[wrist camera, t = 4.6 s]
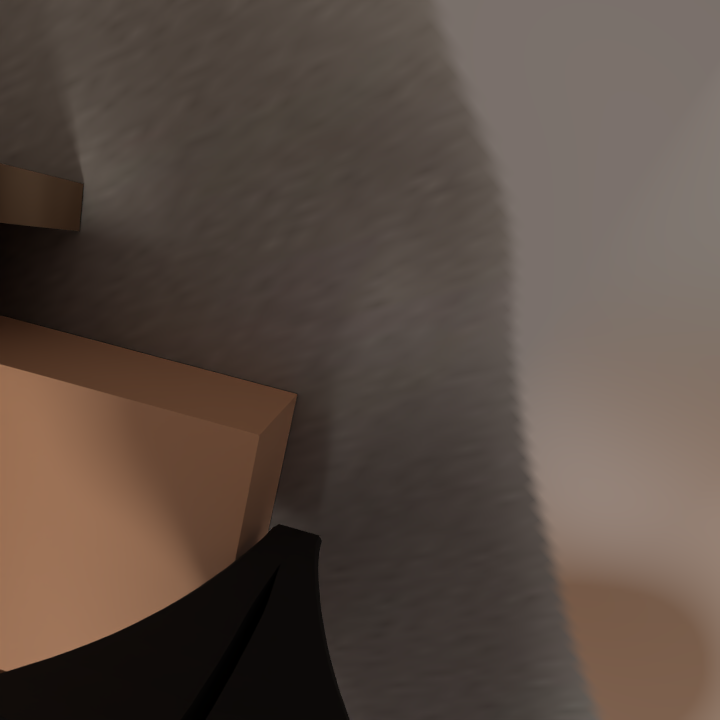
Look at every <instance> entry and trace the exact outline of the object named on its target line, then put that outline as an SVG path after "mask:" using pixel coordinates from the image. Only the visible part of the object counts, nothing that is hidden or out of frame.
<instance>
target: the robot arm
mask: <svg viewBox="0 0 720 720" xmlns="http://www.w3.org/2000/svg"><path fill="white" fill-rule="evenodd" d="M321 542H322V540H321V539H320V537H319V535H315V534H312V533H308V532H305V531H301V530H298V529H294V528H291V527H287V526H284V525H280V524H279V525H277V526H275V527H273V528H272V529H271V530H270V531H269V532H268V533H267V534H266V535H265V536H264V537H263V538H262V539H261V540H260V541H259V542H257V543H256V544H255V545H254V546H253V547H252V548H250V549H249V550H248V551H247V552H246V553H244V554H243V555H242V556H241V557H239V558H238V559H237V560H235V561H234V562H233V563H232V564H230V565H229V566H228V567H227V568H225V569H224V570H223V571H221V572H220V573H218V574H217V575H215V576H214V577H213V578H211V579H210V580H208V581H207V582H205V583H204V584H203V585H201V586H200V587H198V588H197V589H195V590H194V591H192V592H190V593H189V594H187V595H186V596H184V597H182V598H181V599H179V600H177V601H176V602H174V603H172V604H170V605H169V606H167V607H165V608H163V609H162V610H160V611H158V612H156V613H154V614H152V615H150V616H148V617H146V618H144V619H142V620H140V621H139V622H137V623H135V624H133V625H131V626H128V627H126V628H124V629H122V630H120V631H118V632H116V633H113V634H111V635H109V636H106V637H104V638H101V639H99V640H96V641H94V642H92V643H89V644H87V645H84V646H81V647H79V648H76V649H73V650H71V651H68V652H65V653H62V654H60V655H57V656H54V657H51V658H48V659H45V660H41V661H38V662H35V663H32V664H29V665H25V666H22V667H19V668H16V669H13V670H10V671H6V672H3V673H0V720H349V717H348V714H347V711H346V708H345V705H344V702H343V699H342V697H341V694H340V691H339V688H338V685H337V681H336V677H335V674H334V670H333V667H332V663H331V659H330V655H329V650H328V646H327V641H326V636H325V631H324V625H323V619H322V612H321V604H320V594H319V581H318V559H319V550H320V546H321Z"/></svg>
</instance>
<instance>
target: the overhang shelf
mask: <svg viewBox="0 0 720 720" xmlns="http://www.w3.org/2000/svg"><path fill="white" fill-rule="evenodd" d="M82 194H83V184H81V183H77V182H73V181H69V180H65V179H61V178H57V177H53V176H49V175H45V174H41V173H37V172H33V171H29V170H25V169H21V168H17V167H13V166H9V165H5V164H1V163H0V223H7V224H17V225H26V226H35V227H45V228H54V229H63V230H73V231H79V230H80V218H81V206H82ZM3 672H6V671H4V670H1V669H0V673H3Z"/></svg>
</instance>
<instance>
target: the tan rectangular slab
mask: <svg viewBox="0 0 720 720" xmlns="http://www.w3.org/2000/svg"><path fill="white" fill-rule="evenodd" d="M296 398H297V394H295V393H291V392H287V391H284V390H280V389H276V388H272V387H269V386H265V385H261V384H257V383H254V382H250V381H246V380H242V379H238V378H235V377H231V376H227V375H223V374H220V373H216V372H212V371H208V370H205V369H201V368H197V367H193V366H189V365H186V364H182V363H178V362H174V361H171V360H167V359H163V358H159V357H156V356H152V355H148V354H144V353H140V352H137V351H133V350H129V349H125V348H122V347H118V346H114V345H110V344H107V343H103V342H99V341H95V340H91V339H88V338H84V337H80V336H76V335H73V334H69V333H65V332H61V331H58V330H54V329H50V328H46V327H42V326H39V325H35V324H31V323H27V322H24V321H20V320H16V319H12V318H9V317H5V316H1V315H0V669H1V670H4V671H10V670H13V669H16V668H19V667H22V666H25V665H29V664H32V663H35V662H38V661H41V660H45V659H48V658H51V657H54V656H57V655H60V654H62V653H65V652H68V651H71V650H73V649H76V648H79V647H81V646H84V645H87V644H89V643H92V642H94V641H96V640H99V639H101V638H104V637H106V636H109V635H111V634H113V633H116V632H118V631H120V630H122V629H124V628H126V627H128V626H131V625H133V624H135V623H137V622H139V621H140V620H142V619H144V618H146V617H148V616H150V615H152V614H154V613H156V612H158V611H160V610H162V609H163V608H165V607H167V606H169V605H170V604H172V603H174V602H176V601H177V600H179V599H181V598H182V597H184V596H186V595H187V594H189V593H190V592H192V591H194V590H195V589H197V588H198V587H200V586H201V585H203V584H204V583H205V582H207V581H208V580H210V579H211V578H213V577H214V576H215V575H217V574H218V573H220V572H221V571H223V570H224V569H225V568H227V567H228V566H229V565H230V564H232V563H233V562H234V561H235V560H237V559H238V558H239V557H241V556H242V555H243V554H244V553H246V552H247V551H248V550H249V549H250V548H252V547H253V546H254V545H255V544H256V543H257V542H259V541H260V540H261V539H262V538H263V537H264V536H265V535H266V534H267V533H268V530H269V525H270V521H271V516H272V511H273V507H274V502H275V497H276V492H277V488H278V483H279V478H280V474H281V469H282V464H283V459H284V455H285V450H286V445H287V440H288V436H289V431H290V426H291V422H292V417H293V412H294V407H295V403H296Z"/></svg>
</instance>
